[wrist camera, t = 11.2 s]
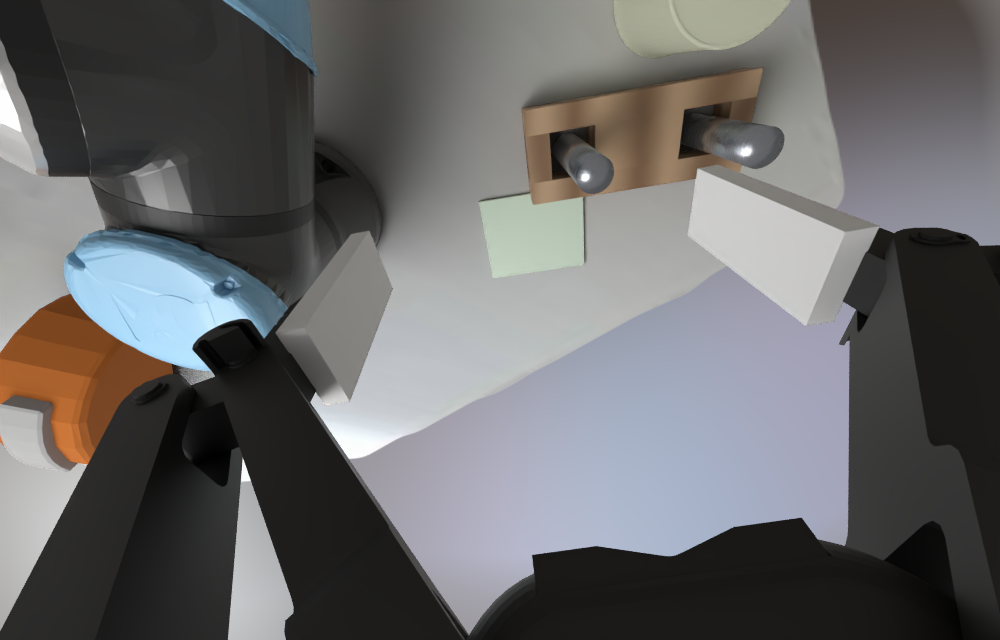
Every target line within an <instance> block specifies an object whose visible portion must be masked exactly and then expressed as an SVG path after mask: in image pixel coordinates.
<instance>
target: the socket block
mask: <svg viewBox="0 0 1000 640" xmlns="http://www.w3.org/2000/svg"><path fill="white" fill-rule="evenodd" d="M762 72H763V68H745V69H738V70H733V71H727V72H722V73H716V74H710V75H705V76H699V77H694V78H688V79H683V80H677V81H671V82H666V83H660V84H655V85H649V86H644V87H638V88H632V89H627V90H621V91H616V92H610V93H605V94H599V95H594V96H588V97H582V98H577V99H571V100H566V101H560V102H555V103H549V104H543V105H538V106H532V107H527V108H522V118H523V128H524V138H525V148H526V158H527V168H528V178H529V188H530V195H531V200H532V203H533V205H537V204H543V203H549V202H555V201H561V200H568V199H574V198H580V197H586V196H592V195H598V194H605V193H611V192H617V191H623V190H629V189H635V188H642V187H648V186H654V185H660V184H666V183H672V182H679V181H685V180H691V179H696V176H697V169H698V168H703V167H708V166H713V165H720V166H722V167H725V168H728V169H730V170H733V171H736V172H740V170H741V166H742V165H741V164H738V163H735V162H732V161H730V160H727V159H724V158H721V157H718V156H715V155H712V154H710V153H707V152H704V151H701V150H698V149H694V150H688V151H682V152H679V148H680V140H681V132H682V124H683V116H684V109H690V108H695V107H701V106H707V105H713V104H715V107H714V113H713V116H716V117H722V118H728V119H733V120H739V121H745V122H750V123H751V121H752V117H753V112H754V108H755V103H756V99H757V95H758V90H759V86H760V81H761V77H762ZM586 126H588V144H589V145H590V146H592V147H593V148H594V149H596V150H597V151H599V152H600V153H602V154H603V155H604V156H606V157H607V158H608V159H610V161H611V162H612V164H613V167H614V176H613V179H612V182H611V183H610V185H609V186H608V187H607V188H606V189H605V190H604V191H602V192H600V193H597V194H588V193H585V192H583V191H582V190H581V189H580V188H579V186H578V185H577V184H576V183H575V181H574V180H573V179H572V178H571V176H570V175H569V174H568V173H567V171H563V172H557V173H552V167H551V151H550V136H549V133H552V132H558V131H563V130H569V129H575V128H581V127H586Z"/></svg>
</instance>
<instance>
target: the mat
mask: <svg viewBox="0 0 1000 640" xmlns="http://www.w3.org/2000/svg"><path fill="white" fill-rule="evenodd" d="M479 205H480V211H481V216H482V222H483V227H484V233H485V238H486V243H487V249H488V254H489V260H490V265H491V270H492V276H493V278H497V277H504V276H511V275H517V274H524V273H531V272H537V271H544V270H551V269H557V268H564V267H571V266H577V265H584V226H583V197H580V198H574V199H568V200H561V201H555V202H549V203H543V204H537V205H533V203H532V200H531V195H530V193H527V194H521V195H515V196H509V197H503V198H496V199H490V200H484V201H479Z"/></svg>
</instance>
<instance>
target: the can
mask: <svg viewBox="0 0 1000 640" xmlns="http://www.w3.org/2000/svg"><path fill="white" fill-rule="evenodd" d="M791 1H792V0H614V17H615V22H616V26H617V30H618V32H619V34H620V37H621V38H622V40H623V42H624V43H625V44H626V46H627V47H628V48H629V49H630V50H632V51H633V52H634V53H636V54H638V55H640V56H643V57H647V58H660V57H665V56H668V55H671V54H674V53H681V52H689V51H699V50H723V49H729V48H732V47H736V46H738V45H741V44H743V43H745V42H747V41H749V40H751V39H752V38H754V37H755V36H757V35H758V34H760V33H761V32H762V31H764V30H765V29H766V28H767V27H768V26H770V25H771V24H772V23H773V22H774V21H775V20H776V19H777V18H778V17H779V16H780V14H781V13H782V12H783V11H784V10H785V9H786V7H787V6H788V5H789V3H790V2H791Z"/></svg>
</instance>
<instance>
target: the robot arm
mask: <svg viewBox="0 0 1000 640" xmlns="http://www.w3.org/2000/svg"><path fill="white" fill-rule="evenodd" d="M314 77H317V67H316V65H315V63H314V62H313V52H312V35H311V16H310V6H309V2H308V0H0V157H1V158H3V159H5V160H7V161H9V162H11V163H13V164H15V165H17V166H19V167H20V168H22V169H24V170H26V171H28V172H30V173H32V174H34V175H37V176H47V177H48V176H53V177H88V178H89V180H90V183H91V186H92V189H93V191H94V194H95V197H96V200H97V203H98V206H99V209H100V212H101V214H102V217H103V220H104V224H105V230H99V231H96V232H93V233H91V234H88V235H86V236H84V237H83V238H82V239H81V240H80V241H79V244H78V245H77V246H76V248H75V250H74V251H73V252H71V253H70V254H68V256H67V257H66V260H65V263H64V269H63V271H64V277H65V282H66V284H67V287H68V289H69V291H70V293H71V295H72V296H73V298H74V300H75V301H76V302H77V304H78V305H79V306H80V307H81V309H82V310H83V311H84V312H85V313H86V314H87V315H88V316H89V317H90V318H91V319H92V320H93V321H94V322H96V323H97V324H98V325H99V326H100V327H102V328H103V329H104V330H106V331H107V332H108V333H110V334H111V335H113V336H114V337H116V338H117V339H119V340H120V341H122V342H124V343H126V344H128V345H130V346H132V347H134V348H136V349H137V350H139V351H141V352H143V353H145V354H147V355H149V356H152V357H154V358H156V359H159V360H162V361H165V362H168V363H171V364H174V365H178V366H182V367H186V368H191V369H196V370H203V371H212V372H213V373H214V375H215V377H213V378H210V379H207V380H205V381H202V382H199V383H196V384H194V385H190V384H189V383H188V382H187V381H186V380H185V379H184V378H183V377H182V376H181V375H179V374H168V375H164V376H161V377H158V378H156V379H154V380H151V381H147V382H145V383H143V384H141V386H138V387H137V388H135V389H134V390H133V391H132V392H131V393H130V394H129V395H128V396H127V397H125V398H124V399H123V401H122V402H121V403H120V405H119V406H118V408H117V409H116V411H115V413H114V415H113V417H112V419H111V421H110V423H109V425H108V427H107V429H106V430H105V432H104V434H103V436H102V438H101V440H100V442H99V444H98V446H97V448H96V450H95V451H94V453H93V455H92V457H91V459H90V461H89V463H88V465H87V467H86V469H85V471H84V472H83V475H82V476H81V478H80V480H79V482H78V484H77V486H76V488H75V490H74V492H73V494H72V495H71V497H70V499H69V501H68V503H67V505H66V507H65V509H64V511H63V513H62V514H61V516H60V518H59V520H58V522H57V524H56V526H55V528H54V530H53V532H52V534H51V535H50V537H49V539H48V541H47V543H46V545H45V547H44V549H43V551H42V553H41V555H40V556H39V558H38V560H37V562H36V564H35V566H34V568H33V570H32V572H31V574H30V576H29V577H28V579H27V581H26V583H25V585H24V587H23V589H22V591H21V593H20V595H19V597H18V599H17V600H16V602H15V604H14V606H13V608H12V610H11V612H10V614H9V616H8V618H7V619H6V621H5V623H4V625H3V627H2V629H1V631H0V640H228V629H229V618H230V617H229V616H230V606H231V593H232V580H233V569H234V557H235V544H236V532H237V520H238V507H239V496H240V483H241V471H242V459H244V462H245V465H246V468H247V471H248V473H249V476H250V479H251V482H252V485H253V488H254V491H255V494H256V496H257V500H258V502H259V505H260V508H261V511H262V514H263V517H264V520H265V523H266V526H267V528H268V531H269V534H270V537H271V540H272V543H273V546H274V549H275V552H276V555H277V558H278V560H279V563H280V566H281V569H282V572H283V575H284V578H285V581H286V584H287V587H288V589H289V592H290V595H291V598H292V602H293V606H294V612H293V614H292V615H291V616H290V617H289V618H288V619H287V620H286V621H285V631H284V632H285V637H286V640H1000V245H995V246H979V244H978V242H977V241H976V240H974V239H973V238H972V237H970V236H968V235H966V234H962V233H958V232H954V231H950V230H947V229H942V228H910V229H903V230H900V231H897V232H896V233H892V232H890V231H887V230H884V229H882V228H879V227H880V226H878V225H875V224H873V223H870V222H868V221H865V220H862V219H860V218H857V217H854V216H851V215H849V214H847V213H844V212H841V211H838V210H836V209H833V208H831V207H828V206H825V205H823V204H820V203H818V202H815V201H812V200H810V199H807V198H804V197H802V196H799V195H796V194H794V193H791V192H788V191H786V190H783V189H781V188H778V187H775V186H773V185H770V184H767V183H765V182H762V181H759V180H757V179H754V178H752V177H749V176H746V175H744V174H741V173H738V172H736V171H733V170H730V169H728V168H725V167H722V166H720V165H713V166H708V167H703V168H698V169H697V176H696V183H695V189H694V196H693V203H692V210H691V216H690V223H689V230H688V236H689V237H690V238H692V239H693V240H694V241H695V242H697V243H698V244H699V245H701V246H702V247H703V248H705V249H706V250H707V251H708V252H710V253H711V254H712V255H714V256H715V257H716V258H718V259H719V260H720V261H722V262H723V263H724V264H725V265H727V266H728V267H729V268H731V269H732V270H733V271H735V272H736V273H737V274H739V275H740V276H741V277H743V278H744V279H745V280H747V281H748V282H749V283H750V284H752V285H753V286H754V287H756V288H757V289H758V290H759V291H761V292H762V293H763V294H765V295H766V296H767V297H769V298H770V299H771V300H773V301H774V302H775V303H777V304H778V305H779V306H781V307H782V308H783V309H784V310H786V311H787V312H788V313H789V314H791V315H792V316H794V317H795V318H796V319H797V320H799V321H800V322H801V323H803V324H804V325H805V326H810V325H816V324H822V323H828V322H833V321H835V319H836V317H837V315H838V313H839V311H840V308H841V307H842V304H843V302H845V303H846V304H848V305H850V306H851V307H853V308H855V309H856V311H855V313H854V315H853V317H852V319H851V321H850V323H849V325H848V327H847V329H846V331H845V333H844V335H843V337H842V339H841V341H840V343H839V344H840V345H845V343H846V342H847V341H849V340H850V362H849V365H850V366H849V368H850V369H849V370H850V371H849V497H848V506H849V507H848V509H849V510H848V536H847V541H846V545H845V546H842V545H839V544H835V543H831V542H827V541H822V540H818V539H817V538H816V537H815V535H814V534H813V533H812V531H811V530H810V528H809V527H808V526H807V524H806V523H805V522H804V520H803V519H802V518H797V519H789V520H782V521H775V522H768V523H761V524H754V525H746V526H739V527H733V528H731V529H729V530H727V531H725V532H723V533H721V534H719V535H717V536H715V537H713V538H711V539H709V540H707V541H705V542H703V543H701V544H699V545H697V546H695V547H693V548H691V549H689V550H687V551H685V552H683V553H681V554H678V555H676V556H660V555H653V554H646V553H639V552H632V551H625V550H619V549H612V548H604V547H598V546H594V547H588V548H581V549H573V550H565V551H558V552H551V553H544V554H536V555H532V558H533V567H534V574H532V575H530V576H528V577H526V578H524V579H522V580H521V581H519V582H518V583H516V584H515V585H513V586H512V587H511V588H509V589H508V590H506V591H505V592H504V593H503V594H502V595H501V596H500V597H499V598H498V599H496V600H495V601H494V602H493V604H492V605H491V606H490V607H489V609H487V611H486V612H485V613H484V614H483V615H482V617H481V618H480V620H479V621H478V623H477V624H476V625H475V627H474V629H473V630H472V632H471V633H470V635H469V634H468V633H467V632H466V630H465V629H464V627H463V626H462V624H461V623H460V621H459V620H458V618H457V617H456V616H455V614H454V613H453V611H452V610H451V609H450V607H449V606H448V604H447V603H446V601H445V600H444V598H443V597H442V596H441V594H440V593H439V591H438V590H437V588H436V587H435V586H434V584H433V582H432V581H431V580H430V578H429V577H428V575H427V574H426V572H425V571H424V569H423V568H422V566H421V565H420V563H419V562H418V560H417V559H416V557H415V556H414V554H413V553H412V552H411V550H410V549H409V547H408V546H407V544H406V543H405V541H404V540H403V538H402V537H401V535H400V534H399V532H398V531H397V529H396V528H395V527H394V525H393V524H392V522H391V521H390V519H389V518H388V516H387V515H386V513H385V512H384V510H383V509H382V507H381V506H380V504H379V503H378V501H377V500H376V499H375V497H374V496H373V494H372V493H371V491H370V490H369V488H368V487H367V485H366V484H365V482H364V481H363V479H362V478H361V476H360V475H359V473H358V472H357V471H356V469H355V468H354V466H353V465H352V463H351V462H350V460H349V459H348V457H347V456H346V454H345V453H344V451H343V450H342V448H341V447H340V445H339V444H338V442H337V441H336V440H335V438H334V437H333V435H332V434H331V432H330V431H329V429H328V428H327V426H326V425H325V423H324V422H323V420H322V419H321V417H320V416H319V414H318V413H317V412H316V410H315V409H314V407H313V406H312V405H311V403H310V402H311V400H312V398H313V396H314V394H315V392H316V393H317V395H318V396H319V397H320V399H321V400H322V402H323V403H324V405H330V404H336V403H342V402H349V401H350V399H351V397H352V394H353V392H354V389H355V386H356V384H357V381H358V379H359V376H360V373H361V371H362V368H363V365H364V363H365V360H366V358H367V355H368V352H369V350H370V347H371V344H372V342H373V339H374V337H375V334H376V331H377V329H378V326H379V323H380V321H381V318H382V316H383V313H384V310H385V308H386V305H387V302H388V300H389V297H390V295H391V292H392V289H393V288H392V286H391V283H390V281H389V278H388V276H387V273H386V271H385V268H384V266H383V263H382V261H381V258H380V256H379V253H378V251H377V248H376V245H377V243H378V240H379V237H380V233H381V226H382V219H381V211H380V206H379V203H378V200H377V197H376V195H375V193H374V191H373V189H372V187H371V185H370V184H369V182H368V180H367V179H366V178H365V176H364V175H363V174H362V173H361V171H360V170H359V169H358V168H357V167H356V166H355V165H354V164H353V163H352V162H350V161H349V160H348V159H347V158H346V157H344V156H343V155H341V154H340V153H338V152H337V151H335V150H333V149H331V148H329V147H327V146H325V145H323V144H320V143H317V142H314Z"/></svg>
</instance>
